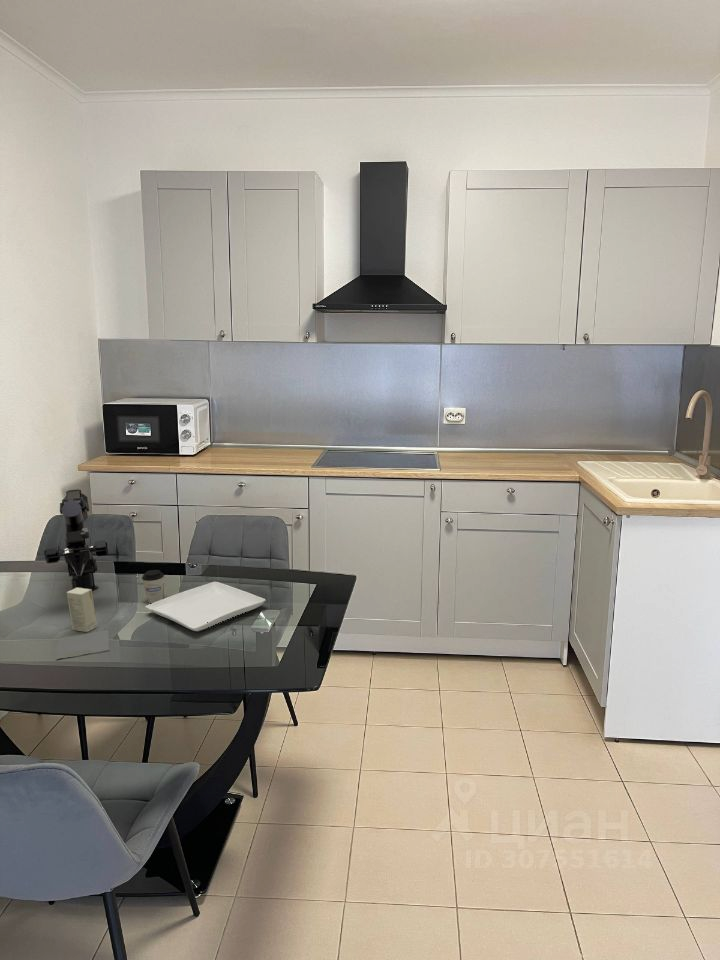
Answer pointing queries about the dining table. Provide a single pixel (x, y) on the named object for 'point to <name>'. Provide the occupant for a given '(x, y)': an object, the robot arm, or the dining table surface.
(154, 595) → the coffee cup
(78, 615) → the skincare box
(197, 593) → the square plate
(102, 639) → the mat
